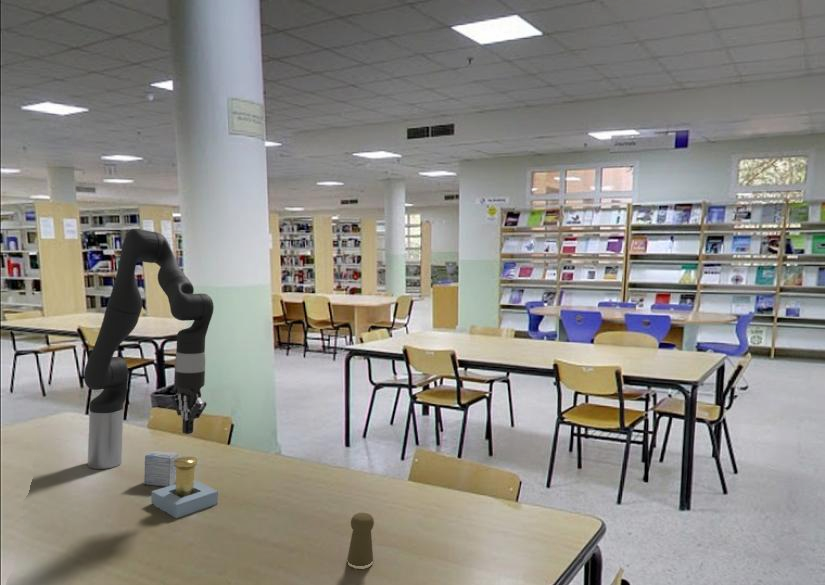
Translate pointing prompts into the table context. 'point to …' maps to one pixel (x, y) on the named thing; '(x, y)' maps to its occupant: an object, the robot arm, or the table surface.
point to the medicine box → (160, 468)
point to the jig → (184, 499)
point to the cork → (361, 540)
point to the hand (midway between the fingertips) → (187, 433)
